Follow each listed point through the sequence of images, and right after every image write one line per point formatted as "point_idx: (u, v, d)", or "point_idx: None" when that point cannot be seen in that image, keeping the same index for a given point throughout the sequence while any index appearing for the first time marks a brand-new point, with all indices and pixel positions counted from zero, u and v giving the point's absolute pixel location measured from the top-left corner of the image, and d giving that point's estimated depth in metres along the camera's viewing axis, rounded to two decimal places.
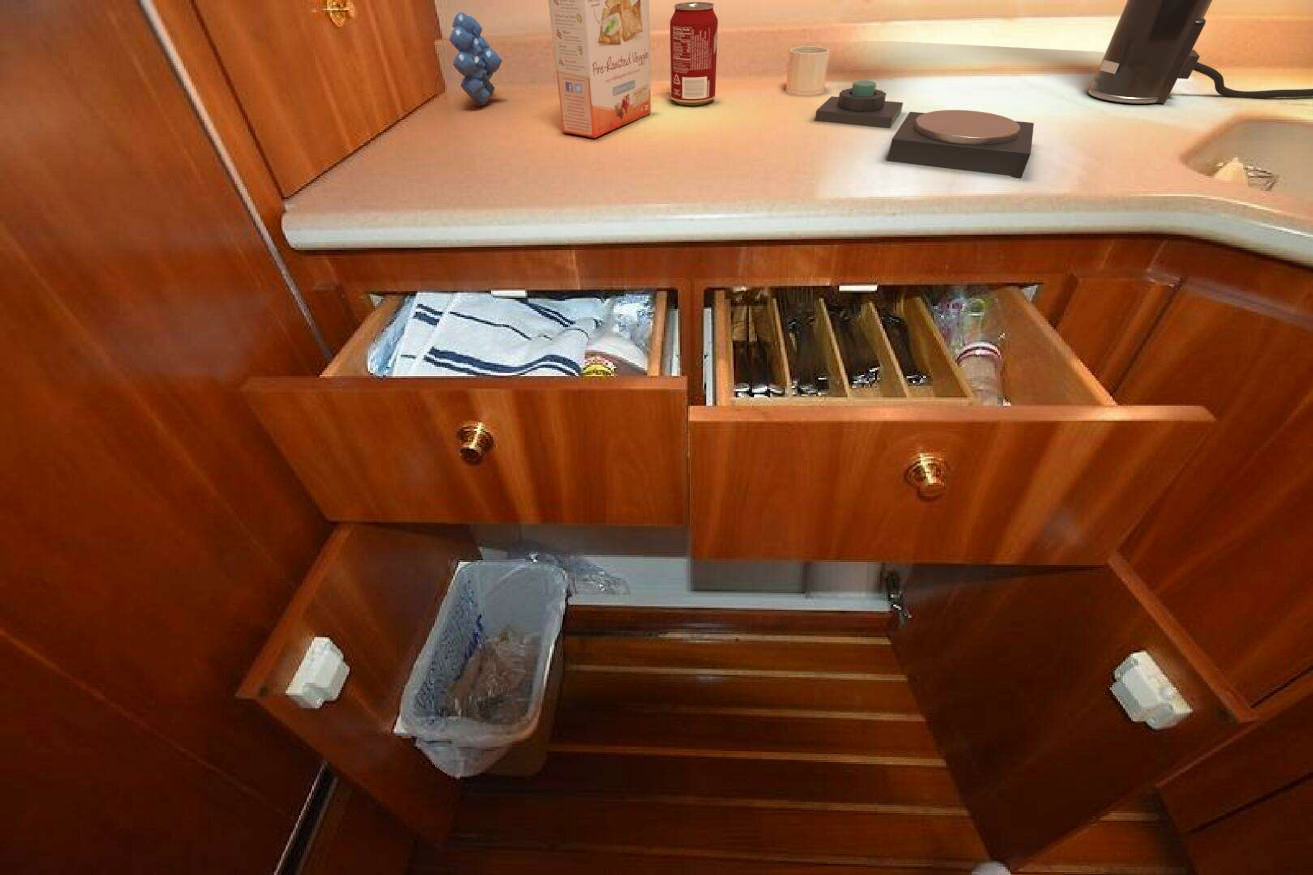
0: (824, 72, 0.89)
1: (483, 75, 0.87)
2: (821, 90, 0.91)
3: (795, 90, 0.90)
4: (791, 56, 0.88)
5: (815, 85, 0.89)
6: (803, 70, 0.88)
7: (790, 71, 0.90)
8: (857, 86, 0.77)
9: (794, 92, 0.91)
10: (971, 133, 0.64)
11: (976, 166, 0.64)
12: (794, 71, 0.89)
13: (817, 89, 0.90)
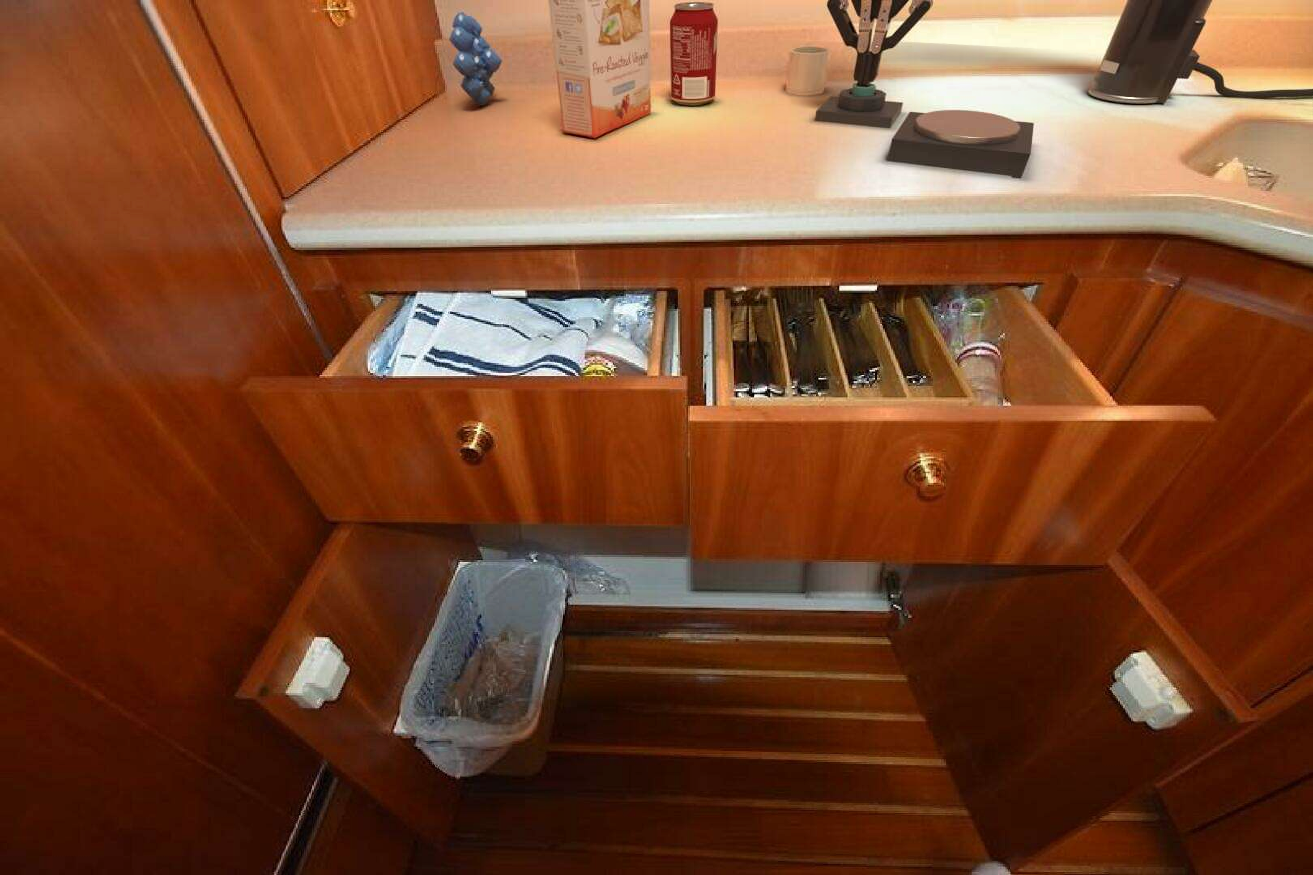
0: (824, 72, 0.89)
1: (483, 75, 0.87)
2: (821, 90, 0.91)
3: (795, 90, 0.90)
4: (791, 56, 0.88)
5: (815, 85, 0.89)
6: (803, 70, 0.88)
7: (790, 71, 0.90)
8: (857, 88, 0.78)
9: (794, 92, 0.91)
10: (971, 133, 0.64)
11: (976, 166, 0.64)
12: (794, 71, 0.89)
13: (817, 89, 0.90)
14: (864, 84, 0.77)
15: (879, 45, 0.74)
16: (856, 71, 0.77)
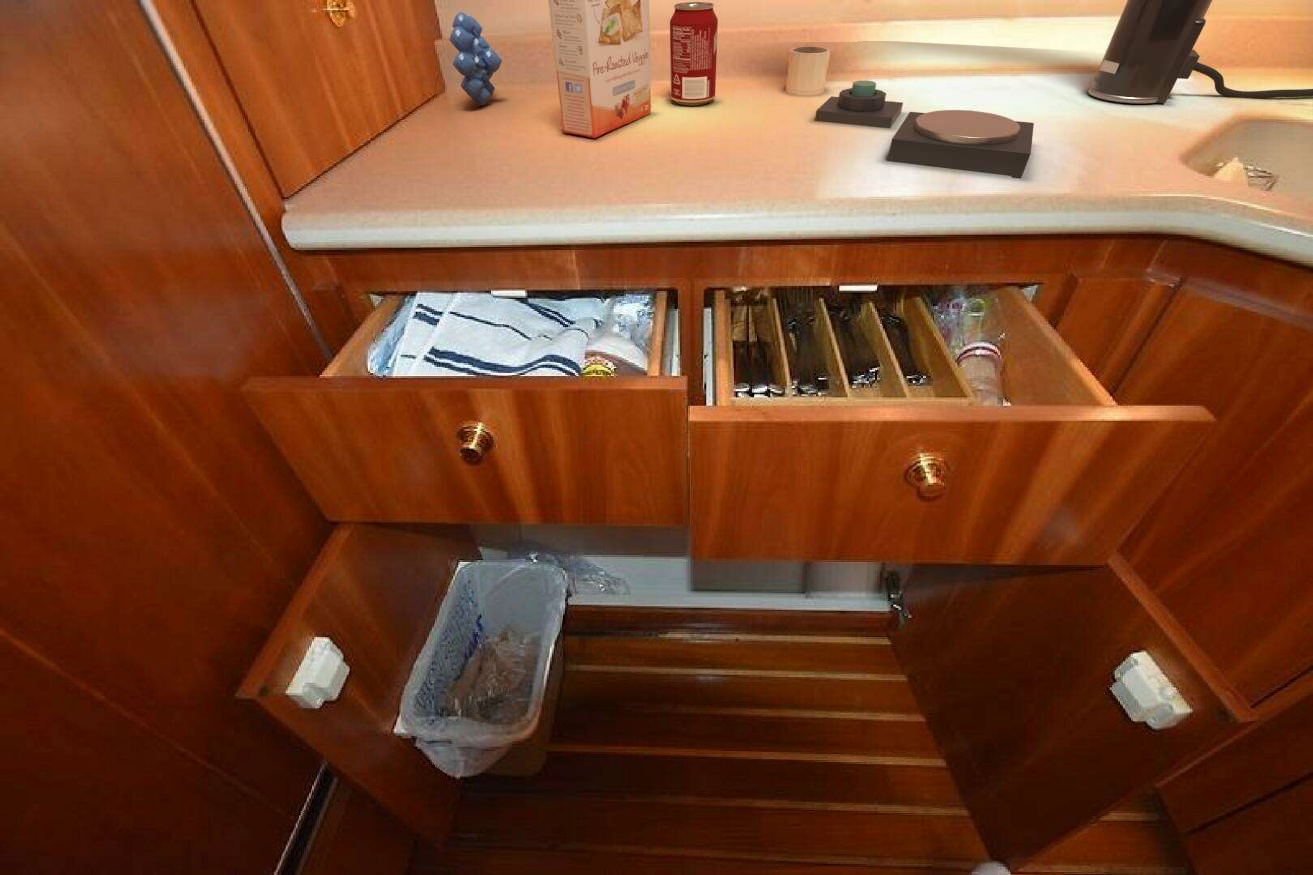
0: (824, 72, 0.89)
1: (483, 75, 0.87)
2: (821, 90, 0.91)
3: (795, 90, 0.90)
4: (791, 56, 0.88)
5: (815, 85, 0.89)
6: (803, 70, 0.88)
7: (790, 71, 0.90)
8: (857, 86, 0.77)
9: (794, 92, 0.91)
10: (971, 133, 0.64)
11: (976, 166, 0.64)
12: (794, 71, 0.89)
13: (817, 89, 0.90)
14: None
15: None
16: None
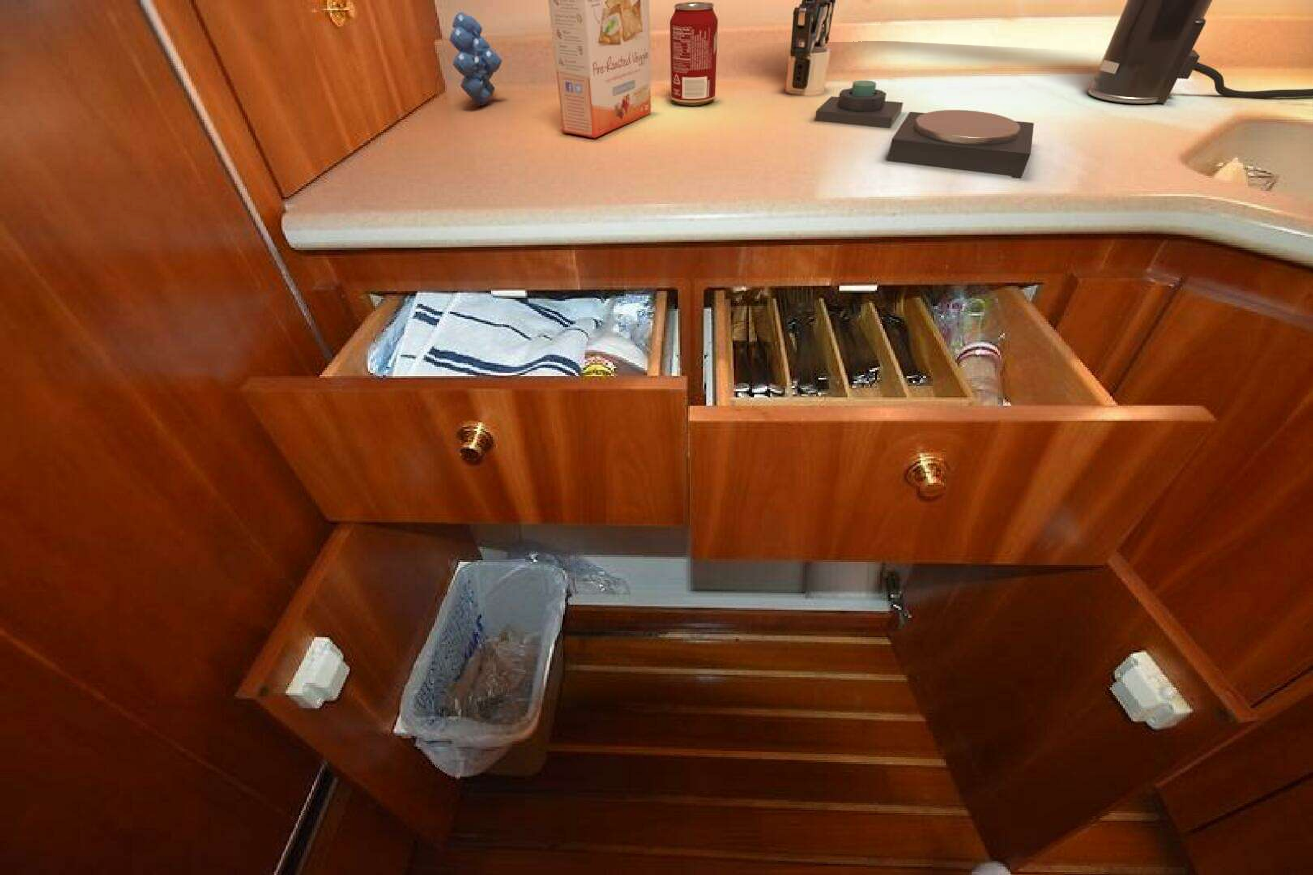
0: (824, 72, 0.89)
1: (483, 75, 0.87)
2: (821, 90, 0.91)
3: (795, 90, 0.90)
4: None
5: (815, 85, 0.89)
6: None
7: (790, 71, 0.90)
8: (857, 86, 0.77)
9: (794, 92, 0.91)
10: (971, 133, 0.64)
11: (976, 166, 0.64)
12: None
13: (817, 89, 0.90)
14: None
15: (824, 42, 0.90)
16: (803, 77, 0.88)
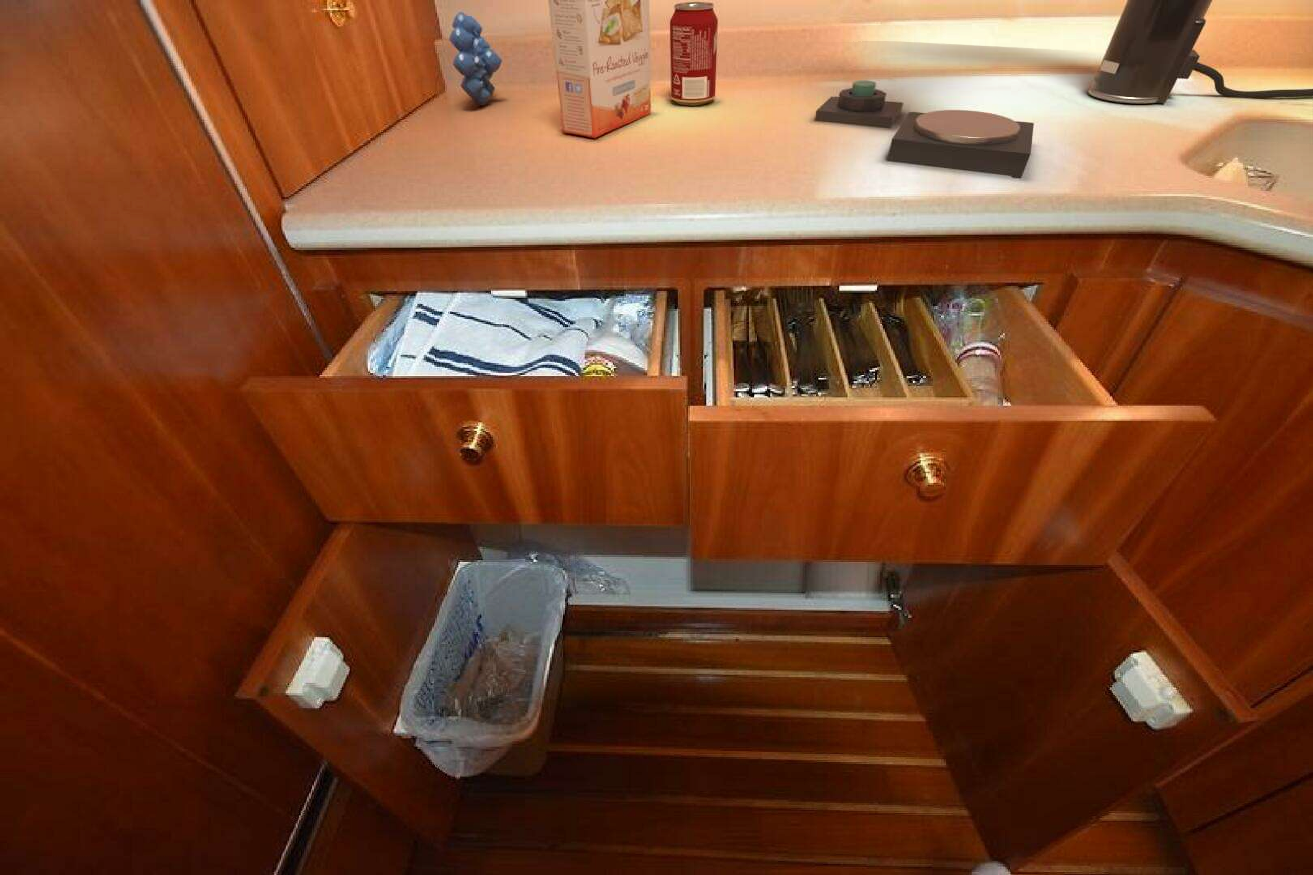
0: None
1: (483, 75, 0.87)
2: None
3: None
4: None
5: None
6: None
7: None
8: (857, 86, 0.77)
9: None
10: (971, 133, 0.64)
11: (976, 166, 0.64)
12: None
13: None
14: None
15: None
16: None
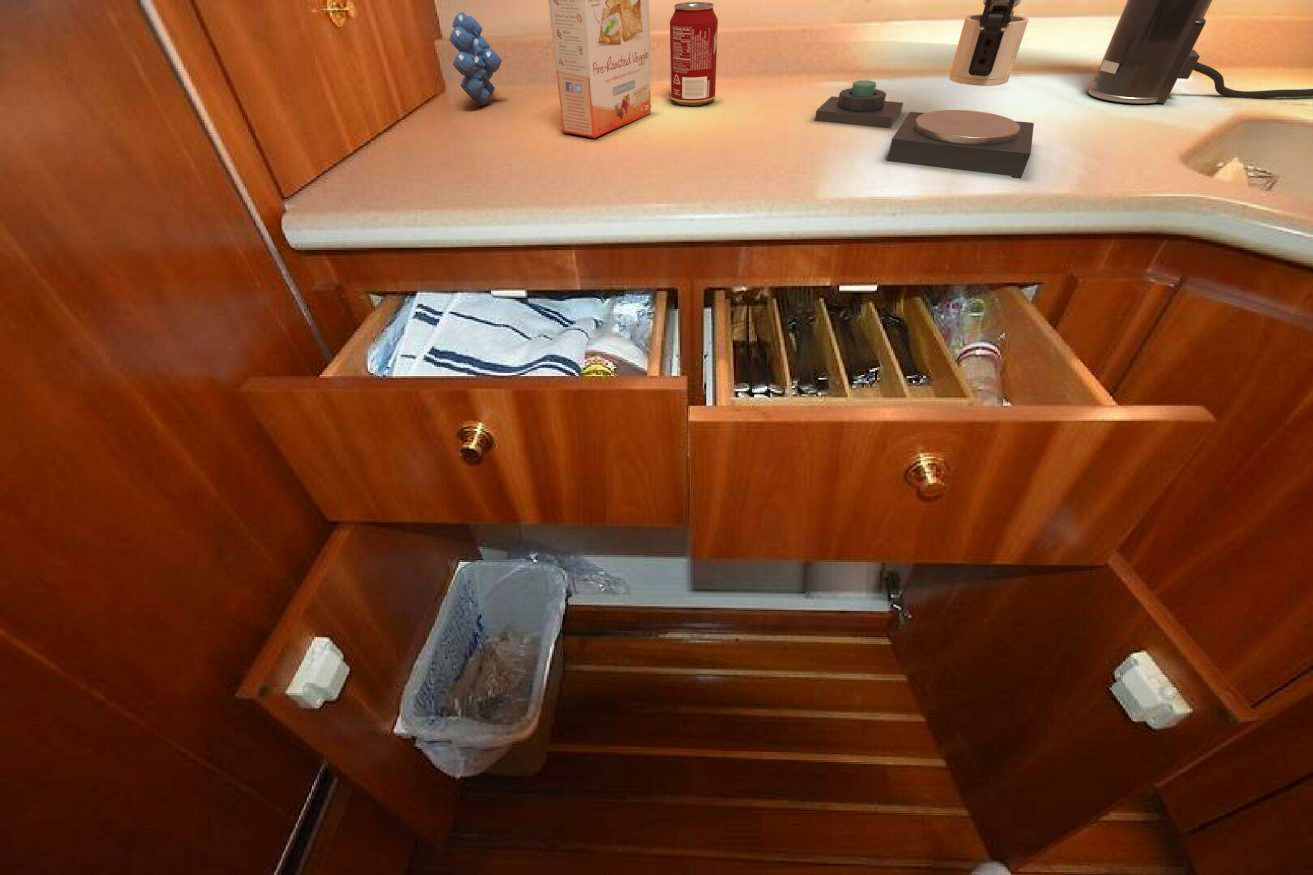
0: (1016, 52, 0.61)
1: (483, 75, 0.87)
2: (1007, 78, 0.62)
3: (969, 77, 0.62)
4: (969, 27, 0.60)
5: (1003, 70, 0.61)
6: None
7: (964, 50, 0.61)
8: (857, 86, 0.77)
9: (968, 81, 0.62)
10: (971, 133, 0.64)
11: (976, 166, 0.64)
12: (972, 49, 0.60)
13: (1003, 76, 0.61)
14: None
15: (1013, 8, 0.62)
16: (991, 58, 0.59)
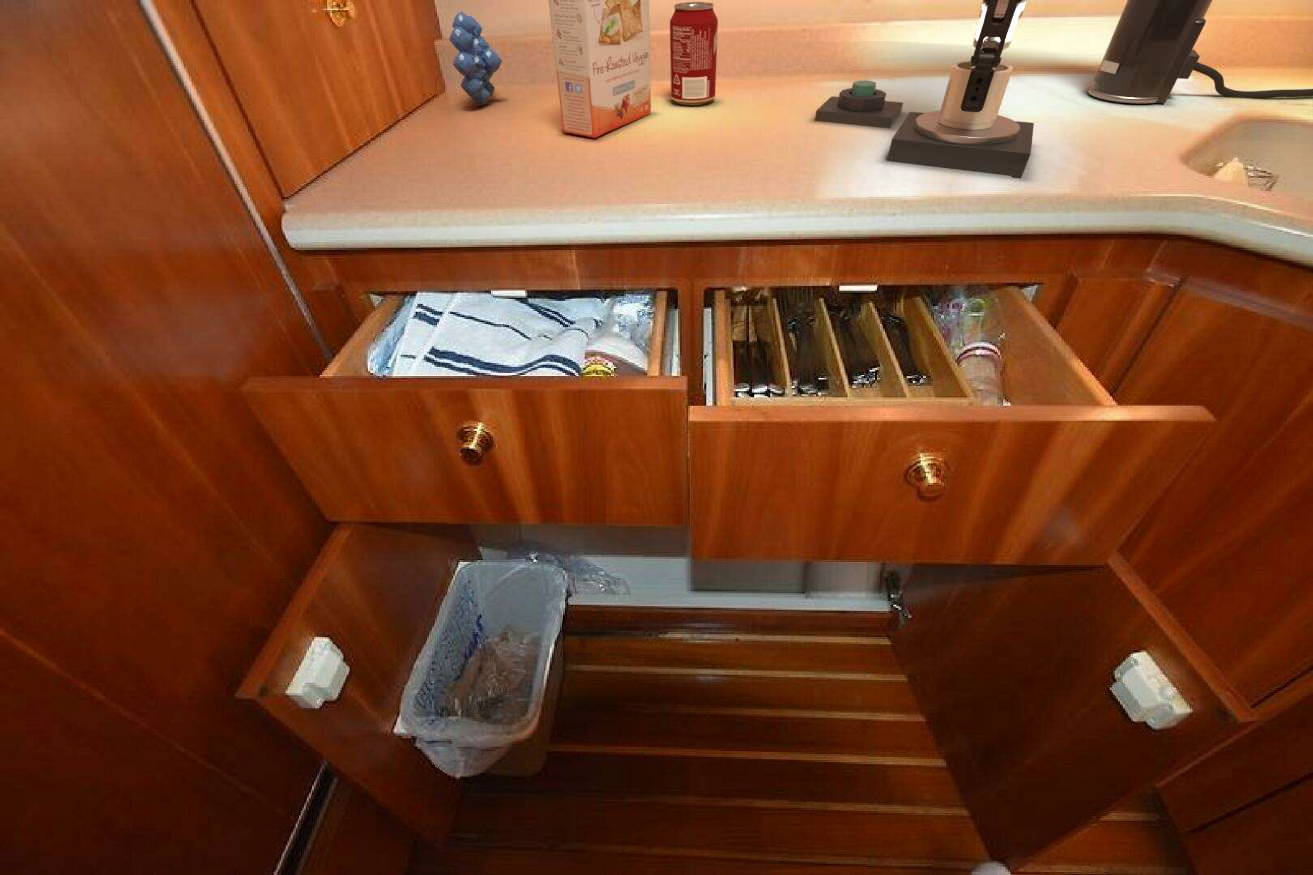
0: (1001, 98, 0.63)
1: (483, 75, 0.87)
2: (993, 122, 0.65)
3: (957, 122, 0.65)
4: (956, 75, 0.63)
5: (988, 115, 0.64)
6: None
7: (952, 96, 0.64)
8: (857, 86, 0.77)
9: (955, 125, 0.65)
10: (971, 133, 0.64)
11: (976, 166, 0.64)
12: (959, 96, 0.63)
13: (989, 121, 0.64)
14: None
15: None
16: (982, 95, 0.60)
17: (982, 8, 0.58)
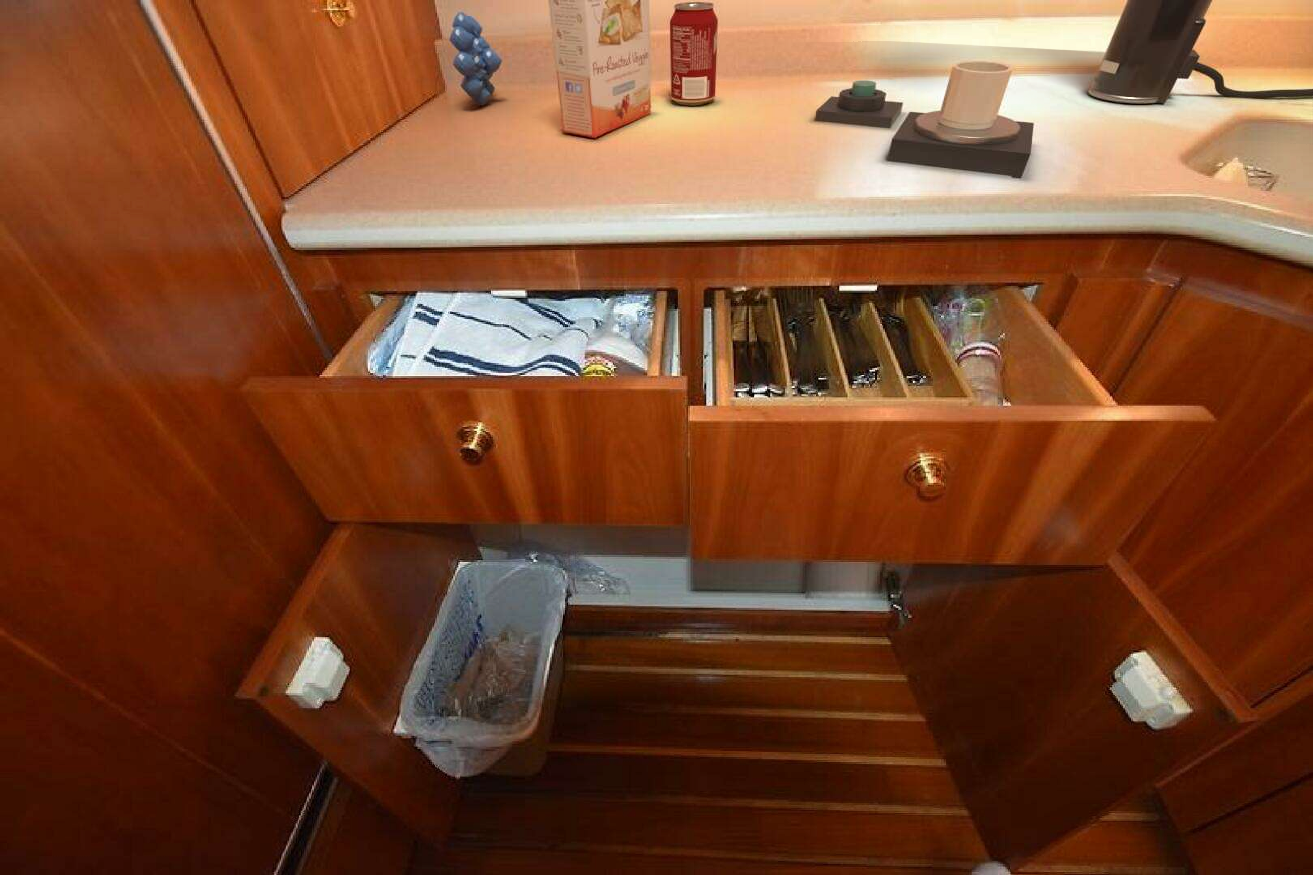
0: (1001, 98, 0.63)
1: (483, 75, 0.87)
2: (993, 122, 0.65)
3: (957, 122, 0.65)
4: (956, 75, 0.63)
5: (988, 115, 0.64)
6: (974, 95, 0.62)
7: (952, 96, 0.64)
8: (857, 86, 0.77)
9: (955, 125, 0.65)
10: (971, 133, 0.64)
11: (976, 166, 0.64)
12: (959, 96, 0.63)
13: (989, 121, 0.64)
14: None
15: None
16: None
17: None
